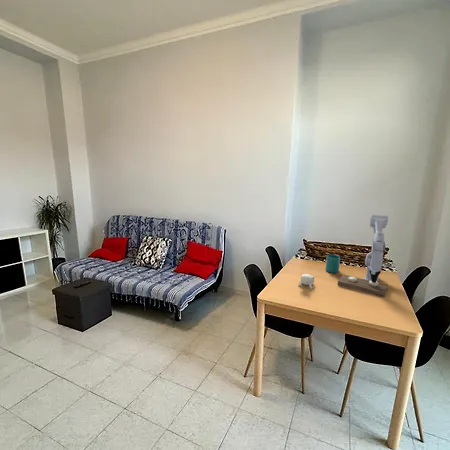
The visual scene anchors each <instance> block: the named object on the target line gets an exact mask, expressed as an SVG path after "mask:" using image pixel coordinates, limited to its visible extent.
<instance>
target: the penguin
mask: <svg viewBox="0 0 450 450" xmlns="http://www.w3.org/2000/svg"><path fill="white" fill-rule="evenodd" d="M314 283H315V276H313V275H312V274H308V273H303V274H301V277H300V281H299V283H298V285H297V286H298V287H301V286H302V285H306V286H309V289H311V290H312V289H313V286H312V285H314Z"/></svg>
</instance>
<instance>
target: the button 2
mask: <svg viewBox="0 0 450 450" xmlns="http://www.w3.org/2000/svg"><path fill="white" fill-rule="evenodd" d="M378 283H379V281H378V282H377V281H376V283H374V282H372V281H369V284H370V285H371V286H373V287H376V286H378Z"/></svg>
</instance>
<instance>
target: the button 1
mask: <svg viewBox="0 0 450 450" xmlns="http://www.w3.org/2000/svg"><path fill="white" fill-rule="evenodd" d="M355 277H356V276H353V277H349V278H348V280H349V281H351V282H357V278H358V277H357V278H355Z"/></svg>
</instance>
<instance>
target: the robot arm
mask: <svg viewBox="0 0 450 450" xmlns="http://www.w3.org/2000/svg"><path fill="white" fill-rule="evenodd" d="M388 223H389V216H388V215H384V214H373V213H372V214H371V215H370V218H369V226H370V228H372V230H373V231H372V240H371V241H372V242H371V251H369V253H367V254H366V256H365V262H364V265H365V266H366V274H365V276H364V278H363V279H365V280H369V281H372V282H374V283H376V281H377V282H378V283H379V280H380V277H379V275H380V274H381V273H382V267H383V262H384V261H383V258H384V252H385V251H386V241H385V234H384V233H383V230H384V229H386V227H387V225H388Z"/></svg>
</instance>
